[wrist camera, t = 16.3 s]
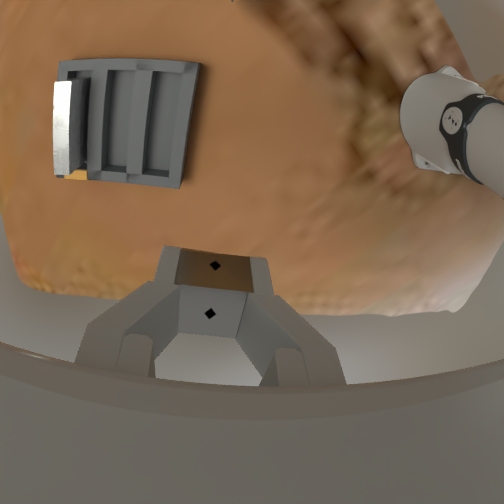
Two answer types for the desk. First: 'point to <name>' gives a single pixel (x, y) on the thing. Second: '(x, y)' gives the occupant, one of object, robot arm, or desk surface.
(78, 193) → the desk surface
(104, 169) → the rack
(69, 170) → the panel
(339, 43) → the desk surface
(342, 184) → the desk surface
